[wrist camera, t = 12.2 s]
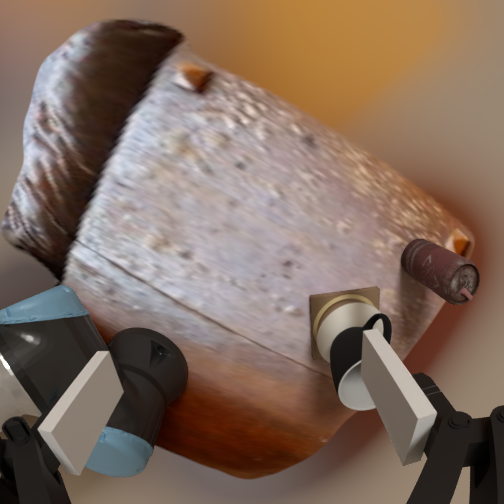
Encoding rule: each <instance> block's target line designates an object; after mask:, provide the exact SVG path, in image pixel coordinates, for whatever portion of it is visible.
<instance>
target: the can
mask: <svg viewBox="0 0 504 504" xmlns="http://www.w3.org/2000/svg"><path fill="white" fill-rule="evenodd" d="M402 263H403V267H404V269H405V271H406V272H407V273H408V274H410V275H411V276H412V277H414V278H415V279H417V280H418V281H419V282H421V283H422V284H424V285H425V286H426V287H428V288H429V289H431V290H432V291H433V292H435V293H436V294H437V295H439V296H440V297H442V298H443V299H444V300H446V301H447V302H448V303H451V304H453V305H455V304H458V305H460V304H464V303H467V302H468V301H471V300H472V299H473V296H474V295H475V293H476V291H477V289H478V286H479V281H480V277H479V272H478V269H477V268H476V266H475V264H474V263H473V262H472V261H471V260H469V259H467V258H464V257H462V256H460V255H458V254H456V253H454V252H451V251H449V250H447V249H445V248H443V247H440V246H438V245H436V244H434V243H431V242H429V241H427V240H425V239H416V240H413V241H412V242H411V243H409V244H408V246H407V247H406V248H405V250H404V253H403V257H402Z"/></svg>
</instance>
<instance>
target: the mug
mask: <svg viewBox="0 0 504 504" xmlns="http://www.w3.org/2000/svg"><path fill="white" fill-rule="evenodd" d="M379 319H381V320H382V322H383V337H384V338H385V340H386V341H387V342H388V344H389V345H390V340H391V334H392V327H391V322H390V320H389V318H388V317H387V316H386V315H385V314H382V313H377V314H374V315H373V316H372V317H371V318H370V319H369V320H368V321H367V323H366V324H365V325H364V326H363V327H350V328H347V329H345V330H343V331H342V332H340V333H339V334H338V335H337V336H336V337H335V339H334V341H333V342H332V345H331V349H330V365H331V371H332V376H333V381H334V385H335V388H336V392H337V394H338V397H339V399H340V401H341V402H342V403H343V404H344V405H345V406H346V407H348V408H350V409H353V410H370V409H373V408H376V406H375V404H374V402H373V400H372V398H371V396H370V394H369V392H368V390H367V388H366V386H365V383H364V381H363V379H362V377H361V375H360V374H361V360H362V343H363V331H366V330H372V329H373V326H374V324H375V323H376V322H377V321H378V320H379Z"/></svg>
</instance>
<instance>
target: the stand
mask: <svg viewBox="0 0 504 504" xmlns="http://www.w3.org/2000/svg"><path fill="white" fill-rule="evenodd" d="M379 299H380V289H379V288H378V287H377V286H376V287H369V288H362V289H355V290H348V291H340V292H333V293H325V294H317V295H310V309H311V334H312V357H313V360H315V359H322V358H324V359H325V360H326V361H327V362H328V363H330V349H331V345H332V342H333V341H334V339H335V337H336V336H337V335H338V334H339V333H340V332H342V331H343V330H345V329H347V328H350V327H363V326H364V325H365V324H366V323H367V321H368V320H369V319H370V318H371V317H372V316H373V315H374V314H377V313H380V311H379ZM373 329H378V330H379V332H380V333H381V334H382V336H383V322H382V320H381V319H379V320H378V321H377V322H376V323H375V324H374V326H373Z"/></svg>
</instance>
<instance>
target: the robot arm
mask: <svg viewBox="0 0 504 504" xmlns="http://www.w3.org/2000/svg"><path fill="white" fill-rule="evenodd" d="M360 375H361V377H362V379H363V381H364V383H365V386H366V388H367V390H368V392H369V394H370V396H371V398H372V400H373V402H374V404H375V406H376V408H377V410H378V413H379V415H380V417H381V419H382V421H383V423H384V425H385V427H386V430H387V432H388V434H389V436H390V438H391V440H392V443H393V445H394V447H395V449H396V451H397V454H398V456H399V458H400V460H401V462H402V465H403V466H405V465H408V464H411V463H414V462H417V461H420V460H421V457H422V455H423V452H425V454H426V456H427V461H426V463H425V465H424V468H423V470H422V472H421V474H420V477H419V479H418V481H417V483H416V485H415V487H414V489H413V491H412V493H411V495H410V498H409V499H408V501H407V503H406V504H450V502H451V499H452V497H453V494H454V491H455V488H456V485H457V482H458V479H459V476H460V473H461V470H462V467H468V466H470V500H469V504H504V405H503V406H498V407H496V408H495V409H493V411H492V413H491V415H490V417H484V418H476V419H472V418H471V416H469V415H468V414H467V413H464V412H459V411H456V410H455V409H454V408H453V407H452V405H451V404H450V402H449V401H448V400H447V398H446V397H445V396H444V394H443V393H442V392H440V389H439V388H438V387H437V386H436V384H435V383H434V381H433V380H432V379H431V378H430V377H429V376H427V375H425V374H424V373H418V374H414V375H411V374H410V373H409V372H408V370H407V369H406V368H405V366H404V364H403V363H402V362H401V360H400V359H399V358H398V356H397V355H396V353H395V352H394V351H393V349H392V348H391V347H390V345H389V344H388V342H387V341H386V340H385V338H384V337H383V336H382V334H381V333H380V332H379V330H378V329H372V330H366V331H363V343H362V360H361V374H360ZM187 378H188V367H187V363H186V360H185V358H184V356H183V354H182V352H181V351H180V349H179V348H178V347H177V346H176V345H175V344H174V343H173V342H172V341H171V340H170V339H168V338H167V337H165V336H164V335H162V334H160V333H158V332H156V331H153V330H150V329H146V328H128V329H125V330H122V331H120V332H119V333H117V334H116V335H115V336H114V337H113V338H112V339H111V341H110V342H109V343H108V345H106V344H105V342H104V340H103V339H102V337H101V335H100V334H99V332H98V330H97V328H96V327H95V325H94V323H93V321H92V319H91V318H90V316H89V312H88V311H87V310H86V309H85V307H84V306H83V304H82V303H81V301H80V299H79V298H78V296H77V294H76V292H75V291H74V290H73V289H72V288H71V287H69V286H66V285H60V286H57V287H54V288H52V289H50V290H47V291H45V292H42V293H40V294H37V295H35V296H33V297H31V298H28V299H26V300H23V301H21V302H19V303H16V304H14V305H12V306H9V307H7V308H5V309H3V310H0V432H1V431H3V432H4V434H5V435H6V437H7V438H8V440H7V439H1V437H0V473H1V478H0V504H71V502H70V499H69V496H68V494H67V491H66V488H65V485H64V482H63V479H62V477H61V474H60V472H59V471H58V467H59V465H60V464H61V466H62V467H63V468H64V470H65V471H66V472H67V473H71V474H75V475H79V476H80V474H81V472H82V470H83V468H84V466H85V467H87V468H88V469H91V470H93V471H95V472H98V473H101V474H104V475H108V476H113V477H131V476H135V475H137V474H139V473H140V472H142V471H143V470H144V468H145V467H146V464H147V462H148V460H149V457H150V456H151V455H152V453H153V449H154V446H155V442H156V439H157V436H158V433H159V429H160V426H161V423H162V420H163V417H164V413H165V410H166V408H167V407H168V406H169V405H170V404H171V403H172V402H173V401H174V400H175V399H176V398H178V397H179V396H180V394H181V393H182V391H183V390H184V387H185V384H186V381H187ZM23 414H29V415H34V416H38V417H40V418H39V419H38V420H37V422H36V423H35V424H34V426H33V427H32V428H31V429H30V427H29V426H28V424H27V422H26V421H25V419H24V418H22V417H20V416H22V415H23Z"/></svg>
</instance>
